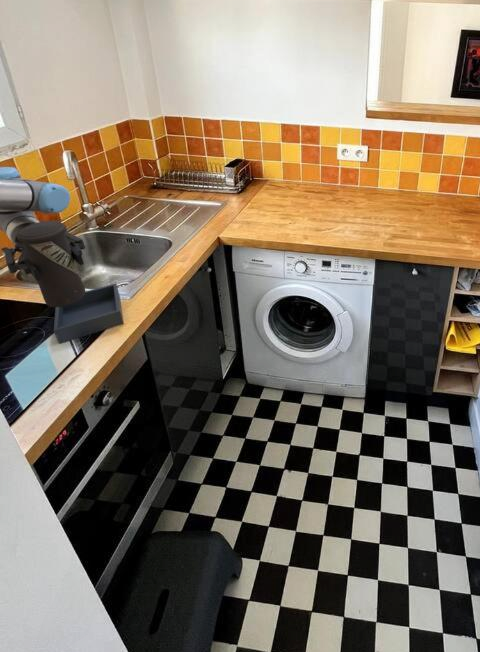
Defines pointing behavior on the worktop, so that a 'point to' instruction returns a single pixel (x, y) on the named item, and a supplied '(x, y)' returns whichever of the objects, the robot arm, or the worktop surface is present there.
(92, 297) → the tote
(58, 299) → the container
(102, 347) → the worktop surface
